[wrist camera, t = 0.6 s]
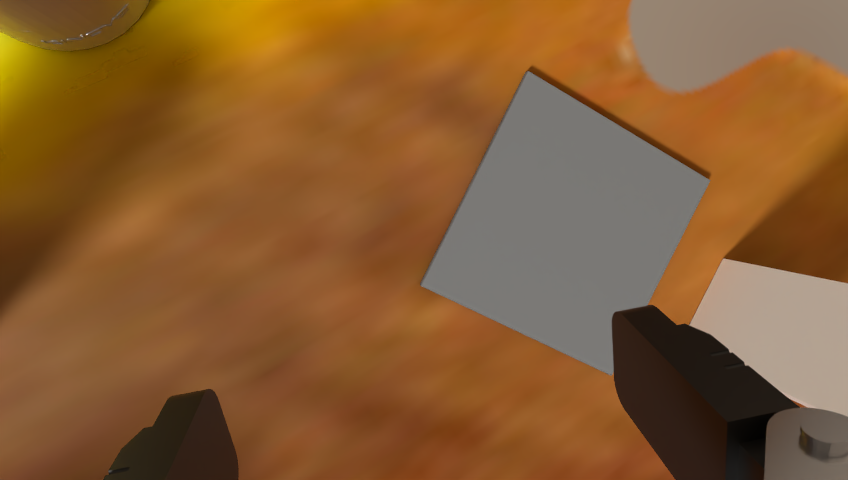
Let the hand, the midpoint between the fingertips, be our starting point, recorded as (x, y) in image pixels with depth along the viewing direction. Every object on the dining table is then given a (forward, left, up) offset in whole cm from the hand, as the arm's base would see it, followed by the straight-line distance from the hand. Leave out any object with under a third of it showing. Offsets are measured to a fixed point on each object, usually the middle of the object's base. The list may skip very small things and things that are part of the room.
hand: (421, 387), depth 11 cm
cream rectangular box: (+16, +21, -21) cm, 34 cm away
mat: (+5, +12, -21) cm, 25 cm away
